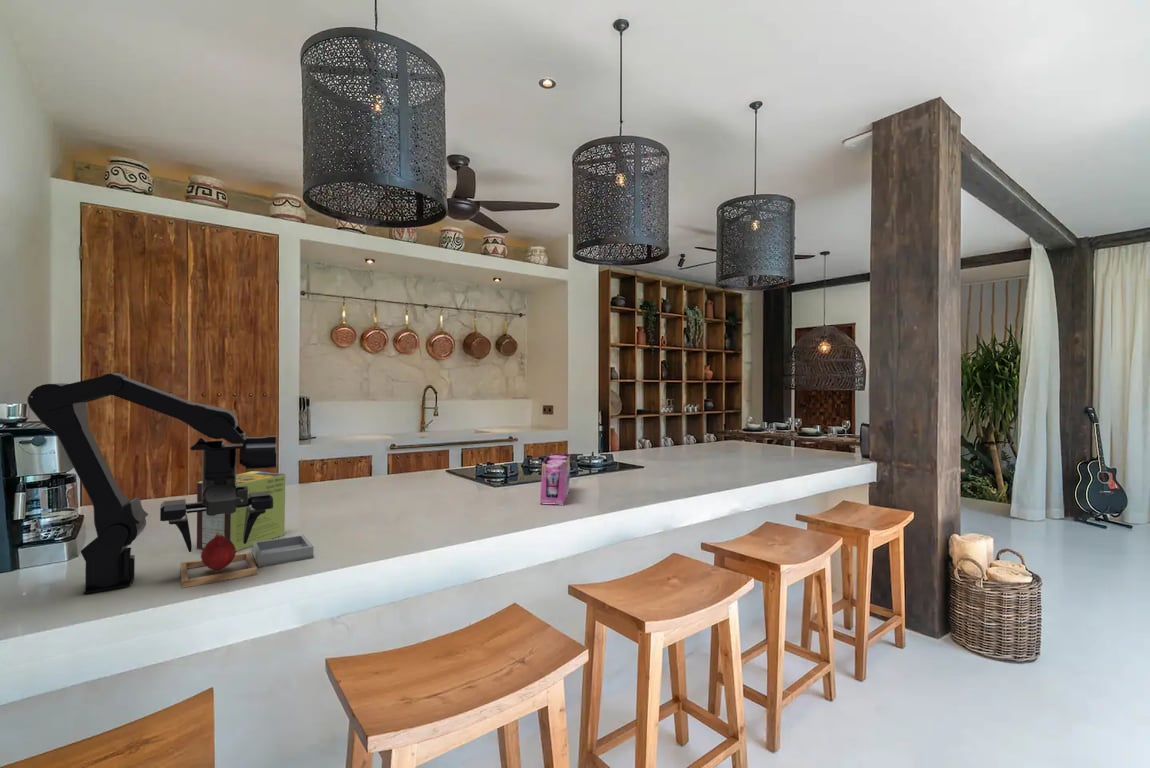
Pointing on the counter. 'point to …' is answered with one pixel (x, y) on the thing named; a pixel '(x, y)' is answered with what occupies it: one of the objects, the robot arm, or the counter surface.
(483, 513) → the counter surface
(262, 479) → the protein box
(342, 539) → the counter surface
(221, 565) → the onion
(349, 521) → the counter surface
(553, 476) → the gum box
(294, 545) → the dish
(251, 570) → the brown wooden frame
